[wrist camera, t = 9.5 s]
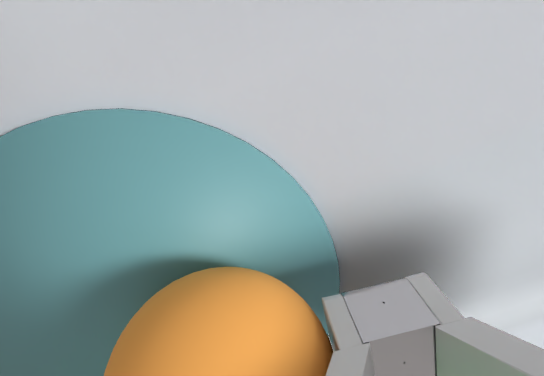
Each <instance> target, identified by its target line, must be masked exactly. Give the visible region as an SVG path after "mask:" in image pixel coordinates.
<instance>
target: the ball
mask: <svg viewBox="0 0 544 376" xmlns="http://www.w3.org/2000/svg"><path fill="white" fill-rule="evenodd" d="M332 354H333V349H332V346H331V343H330V340H329V338H328V336H327V334H326V332H325V330H324V328H323V326H322V324H321V322H320V320H319V319H318V317H317V316H316V314H315V313H314V311H313V310H312V309H311V307H310V306H309V305H308V304H307V303H306V301H305V300H304V299H303V298H302V297H301V296H300V295H299V294H297V293H296V292H295V291H294V290H293V289H291V288H290V287H289V286H287V285H286V284H285V283H283V282H281V281H280V280H278V279H276V278H274V277H272V276H270V275H268V274H265V273H263V272H260V271H256V270H252V269H247V268H241V267H216V268H209V269H205V270H201V271H197V272H194V273H191V274H189V275H186V276H184V277H182V278H180V279H177V280H175V281H173V282H172V283H170V284H169V285H167V286H166V287H164V288H163V289H161V290H160V291H158V292H157V293H156V294H155V295H154V296H152V297H151V298H150V299H149V300H148V301H147V302H146V303H145V304H144V305H143V306H142V307H141V308H140V309H139V310H138V312H137V313H136V314H135V315H134V316H133V317H132V319H131V320H130V321H129V323H128V324H127V326H126V327H125V329H124V330H123V331H122V333H121V335H120V337H119V339H118V341H117V343H116V345H115V346H114V348H113V351H112V353H111V356H110V359H109V361H108V364H107V366H106V369H105V372H104V376H325V375H326V372H327V369H328V366H329V363H330V360H331V357H332Z"/></svg>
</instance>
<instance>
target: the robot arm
mask: <svg viewBox="0 0 544 376" xmlns="http://www.w3.org/2000/svg"><path fill="white" fill-rule="evenodd" d="M322 305H323V309H324V314H325V319H326V323H327V328H328V332H329V336H330V340H331V344H332V348H333V351H334V352H333V354H332V357H331V360H330V363H329V366H328V369H327V372H326V375H325V376H544V349H542V348H540V347H537V346H535V345H533V344H531V343H528V342H526V341H524V340H522V339H519V338H517V337H515V336H513V335H510V334H508V333H506V332H504V331H501V330H499V329H497V328H495V327H492V326H490V325H488V324H486V323H483V322H481V321H479V320H477V319H475V318H472V317H469V318H464V317H463V316H462V314H461V313H460V312H459V311H458V310H457V309H456V307H455V306H454V305H453V304H452V303H451V302H450V300H449V299H448V298H447V297H446V296H445V295H444V293H443V292H442V291H441V290H440V289H439V288H438V286H437V285H436V284H435V283H434V282H433V281H432V279H431V278H430V277H429V276H428V275H427V274H426V273H424V272H422V273H418V274H415V275H411V276H407V277H404V278H400V279H397V280H393V281H389V282H385V283H381V284H378V285H374V286H370V287H366V288H361V289H357V290H352V291H348V292H343V293H341V294H337V295H332V296H328V297H323V298H322Z"/></svg>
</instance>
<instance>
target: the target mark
mask: <svg viewBox="0 0 544 376" xmlns="http://www.w3.org/2000/svg"><path fill="white" fill-rule="evenodd" d="M216 267H241V268H247V269H252V270H256V271H260V272H263V273H265V274H268V275H270V276H272V277H274V278H276V279H278V280H280V281H281V282H283V283H285V284H286V285H287V286H289V287H290V288H291V289H293V290H294V291H295V292H296V293H297V294H299V295H300V296H301V297H302V298H303V299H304V300H305V301H306V303H307V304H308V305H309V306H310V307H311V309H312V310H313V311H314V313H315V314H316V316H317V317H318V319H319V320H320V322H321V324H322V326H323V328H324V330H325V332H326V334H327V336H328V333H329V332H328V328H327V323H326V319H325V314H324V309H323V305H322V298H323V297H328V296H332V295H337V294H339V285H340V278H339V267H338V259H337V256H336V252H335V248H334V244H333V240H332V238H331V236H330V233H329V231H328V229H327V226H326V224H325V222H324V220H323V218H322V216H321V214H320V213H319V211H318V209H317V208H316V206H315V205H314V203H313V202H312V200H311V198H310V197H309V196H308V194H307V193H306V192H305V191H304V190H303V189H302V187H301V186H300V185H299V184H298V183H297V182H296V180H295V179H294V178H293V177H292V176H291V175H290V174H289V173H287V172H286V171H285V170H284V169H283V168H282V167H281V166H279V165H278V164H277V163H276V162H275V161H274V160H273V159H271V158H270V157H268V156H267V155H265V154H264V153H262V152H261V151H259V150H258V149H256V148H255V147H253V146H252V145H250V144H249V143H247V142H245V141H243V140H241V139H239V138H237V137H235V136H233V135H231V134H229V133H227V132H225V131H223V130H221V129H218V128H216V127H213V126H210V125H207V124H204V123H201V122H198V121H195V120H192V119H189V118H185V117H180V116H176V115H171V114H166V113H161V112H157V111H146V110H134V109H122V108H121V109H98V110H84V111H79V112H73V113H67V114H62V115H56V116H52V117H49V118H46V119H43V120H40V121H37V122H34V123H30V124H27V125H24V126H21V127H19V128H17V129H15V130H13V131H11V132H9V133H7V134H5V135H3V136H1V137H0V376H104V372H105V369H106V366H107V364H108V361H109V359H110V356H111V353H112V351H113V348H114V346H115V345H116V343H117V341H118V339H119V337H120V335H121V333H122V331H123V330H124V329H125V327H126V326H127V324H128V323H129V321H130V320H131V319H132V317H133V316H134V315H135V314H136V313H137V312H138V310H139V309H140V308H141V307H142V306H143V305H144V304H145V303H146V302H147V301H148V300H149V299H150V298H151V297H152V296H154V295H155V294H156V293H157V292H158V291H160V290H161V289H163V288H164V287H166V286H167V285H169V284H170V283H172V282H173V281H175V280H177V279H180V278H182V277H184V276H186V275H189V274H191V273H194V272H197V271H201V270H205V269H209V268H216Z"/></svg>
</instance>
